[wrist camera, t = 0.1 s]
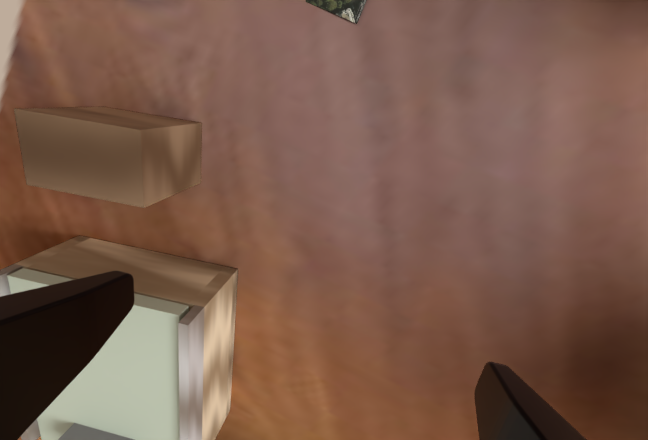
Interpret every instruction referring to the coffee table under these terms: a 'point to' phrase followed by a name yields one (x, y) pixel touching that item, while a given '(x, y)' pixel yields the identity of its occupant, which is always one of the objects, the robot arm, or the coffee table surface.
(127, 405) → the lid
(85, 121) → the wooden block
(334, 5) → the eiffel tower figurine
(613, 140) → the coffee table surface
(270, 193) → the coffee table surface
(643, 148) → the coffee table surface
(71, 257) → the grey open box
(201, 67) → the coffee table surface
